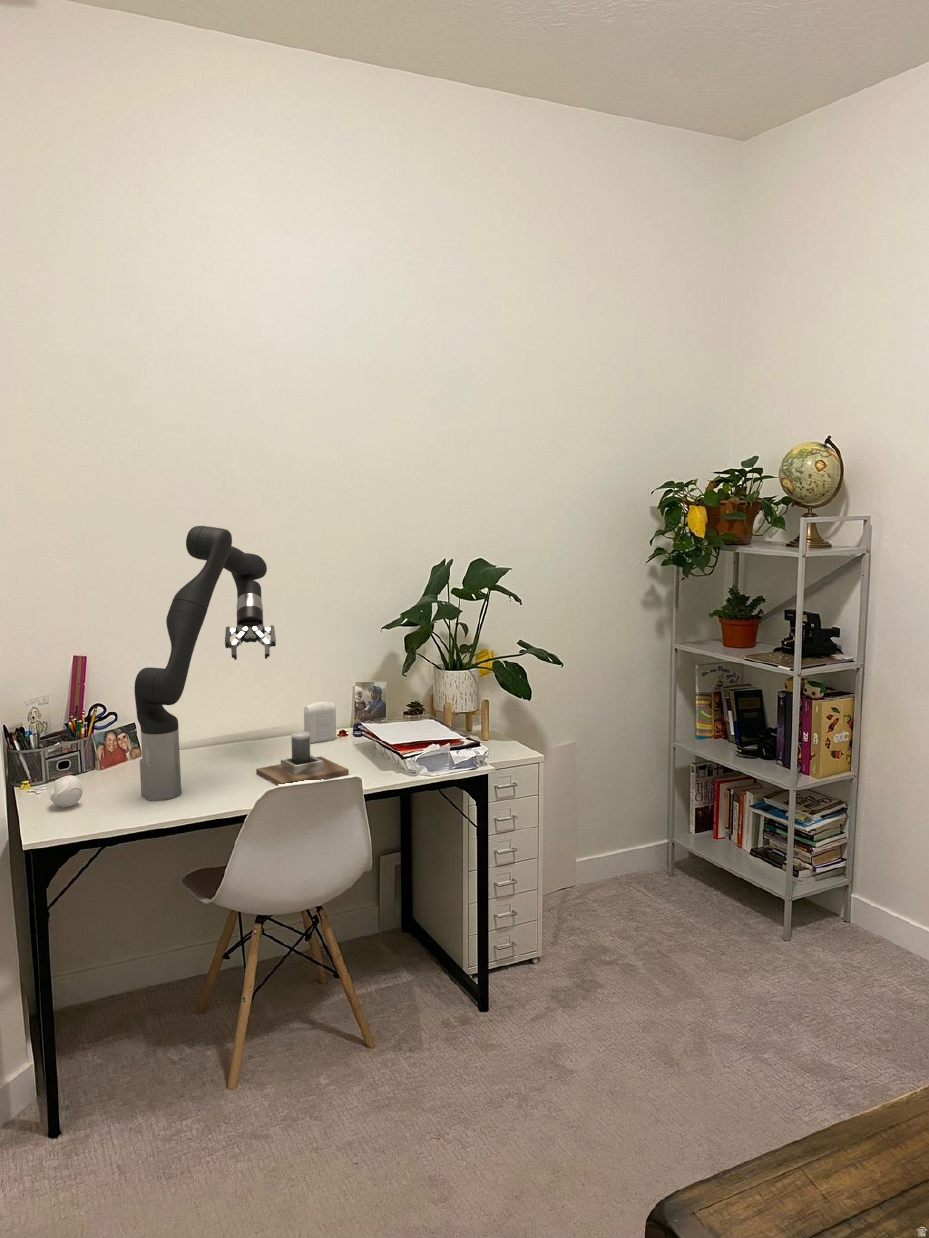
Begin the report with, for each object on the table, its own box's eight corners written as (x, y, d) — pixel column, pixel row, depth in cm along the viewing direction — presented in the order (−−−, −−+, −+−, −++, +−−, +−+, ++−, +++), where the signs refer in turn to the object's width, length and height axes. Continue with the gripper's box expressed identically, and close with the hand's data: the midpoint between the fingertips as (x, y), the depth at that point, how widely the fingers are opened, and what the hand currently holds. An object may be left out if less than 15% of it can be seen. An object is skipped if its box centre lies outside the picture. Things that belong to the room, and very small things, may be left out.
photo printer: (332, 736, 304) (331, 698, 302) (338, 739, 300) (337, 701, 298) (302, 741, 298) (301, 702, 296) (308, 744, 294) (307, 705, 293)
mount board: (282, 788, 252) (282, 773, 252) (256, 774, 265) (255, 760, 264) (348, 774, 264) (348, 760, 263) (320, 761, 277) (320, 747, 276)
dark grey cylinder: (297, 772, 261) (296, 737, 259) (289, 768, 265) (288, 733, 263) (313, 769, 264) (312, 734, 262) (305, 765, 268) (304, 730, 266)
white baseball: (50, 803, 241) (48, 773, 240) (83, 799, 244) (81, 770, 243) (51, 813, 233) (49, 782, 232) (84, 809, 236) (82, 778, 235)
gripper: (224, 605, 277) (224, 651, 267) (274, 603, 280) (276, 649, 270) (225, 620, 283) (225, 666, 273) (274, 619, 285) (276, 664, 276)
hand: (250, 657), depth 272 cm, fingers open, 8 cm apart
